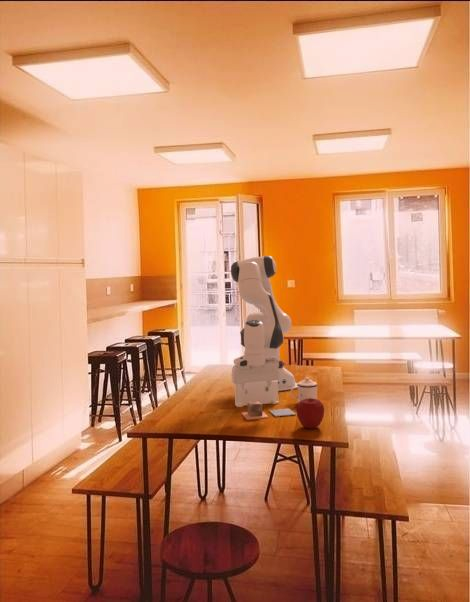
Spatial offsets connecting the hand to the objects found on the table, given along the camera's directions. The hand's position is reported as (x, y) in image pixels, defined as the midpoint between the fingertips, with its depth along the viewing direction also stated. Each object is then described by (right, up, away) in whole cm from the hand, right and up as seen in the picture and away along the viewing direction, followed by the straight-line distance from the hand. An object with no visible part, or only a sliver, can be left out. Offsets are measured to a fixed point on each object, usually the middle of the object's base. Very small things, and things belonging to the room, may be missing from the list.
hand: (256, 392), depth 215 cm
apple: (+20, -11, -17) cm, 29 cm away
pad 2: (+11, -10, +3) cm, 15 cm away
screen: (+1, -9, +19) cm, 21 cm away
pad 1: (-1, -10, 0) cm, 10 cm away
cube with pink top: (-1, -9, 0) cm, 9 cm away
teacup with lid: (+23, -9, +19) cm, 31 cm away
